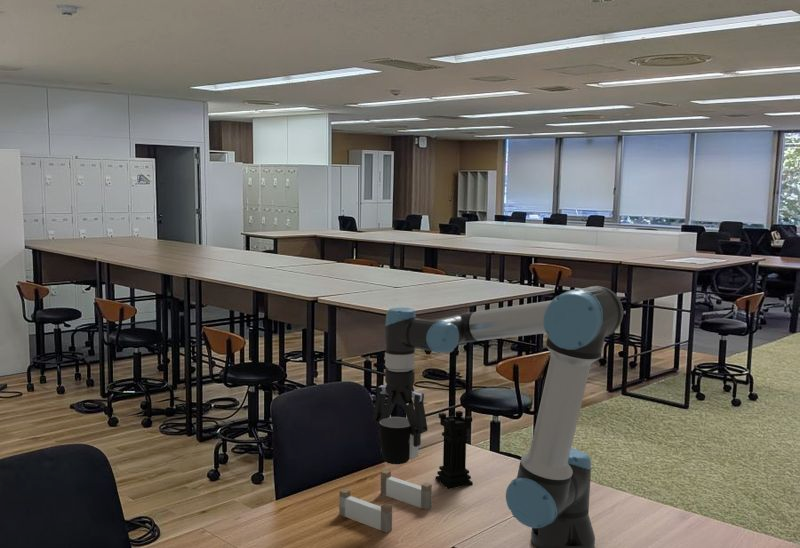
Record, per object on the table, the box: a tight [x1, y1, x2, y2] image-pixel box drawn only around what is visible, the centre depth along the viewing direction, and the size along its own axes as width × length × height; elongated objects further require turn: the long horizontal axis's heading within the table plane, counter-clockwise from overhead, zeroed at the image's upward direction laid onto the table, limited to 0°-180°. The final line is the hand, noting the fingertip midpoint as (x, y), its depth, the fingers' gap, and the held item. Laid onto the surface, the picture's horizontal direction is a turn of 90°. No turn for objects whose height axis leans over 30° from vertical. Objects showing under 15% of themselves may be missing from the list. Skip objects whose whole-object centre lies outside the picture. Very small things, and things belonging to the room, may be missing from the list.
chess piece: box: [434, 410, 474, 490], centre depth 209 cm, size 8×8×20 cm
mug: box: [378, 416, 412, 465], centre depth 186 cm, size 12×9×10 cm
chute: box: [338, 469, 433, 533], centre depth 190 cm, size 16×19×6 cm
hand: (399, 453), depth 186 cm, fingers closed on mug, 9 cm apart
